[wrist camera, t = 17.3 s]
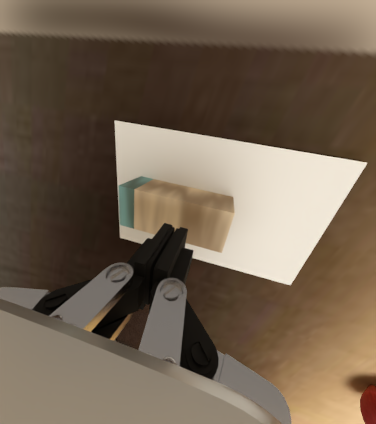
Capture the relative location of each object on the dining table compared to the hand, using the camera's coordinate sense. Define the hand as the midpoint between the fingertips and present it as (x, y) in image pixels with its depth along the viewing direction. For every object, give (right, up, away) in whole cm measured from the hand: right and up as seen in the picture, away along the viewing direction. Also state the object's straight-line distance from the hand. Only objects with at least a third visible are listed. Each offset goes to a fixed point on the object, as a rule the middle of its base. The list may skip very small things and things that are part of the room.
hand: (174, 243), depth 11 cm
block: (+5, +1, +4) cm, 6 cm away
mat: (+3, +3, +6) cm, 8 cm away
